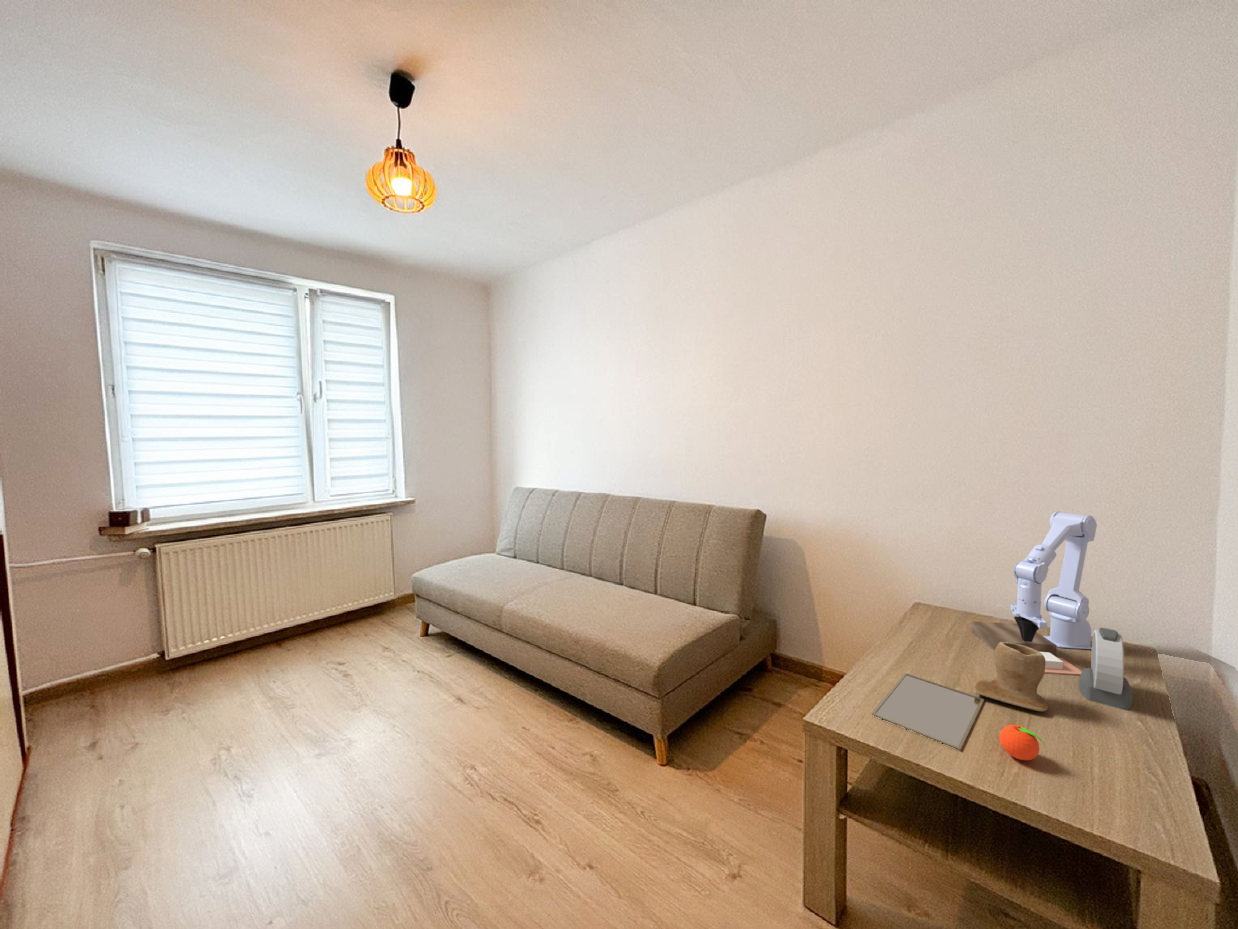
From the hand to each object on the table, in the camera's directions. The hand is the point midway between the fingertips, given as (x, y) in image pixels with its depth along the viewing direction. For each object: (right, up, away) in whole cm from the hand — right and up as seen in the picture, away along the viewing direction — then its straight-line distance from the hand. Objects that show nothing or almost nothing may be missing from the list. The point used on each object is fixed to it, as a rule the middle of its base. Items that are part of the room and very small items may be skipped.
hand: (1027, 640), depth 150 cm
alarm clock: (+2, -7, -22) cm, 23 cm away
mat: (-1, -5, -6) cm, 8 cm away
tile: (-1, -3, -6) cm, 6 cm away
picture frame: (-48, -9, -25) cm, 55 cm away
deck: (+2, -4, +8) cm, 9 cm away
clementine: (-40, -10, -44) cm, 60 cm away
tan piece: (-24, -8, -22) cm, 34 cm away
